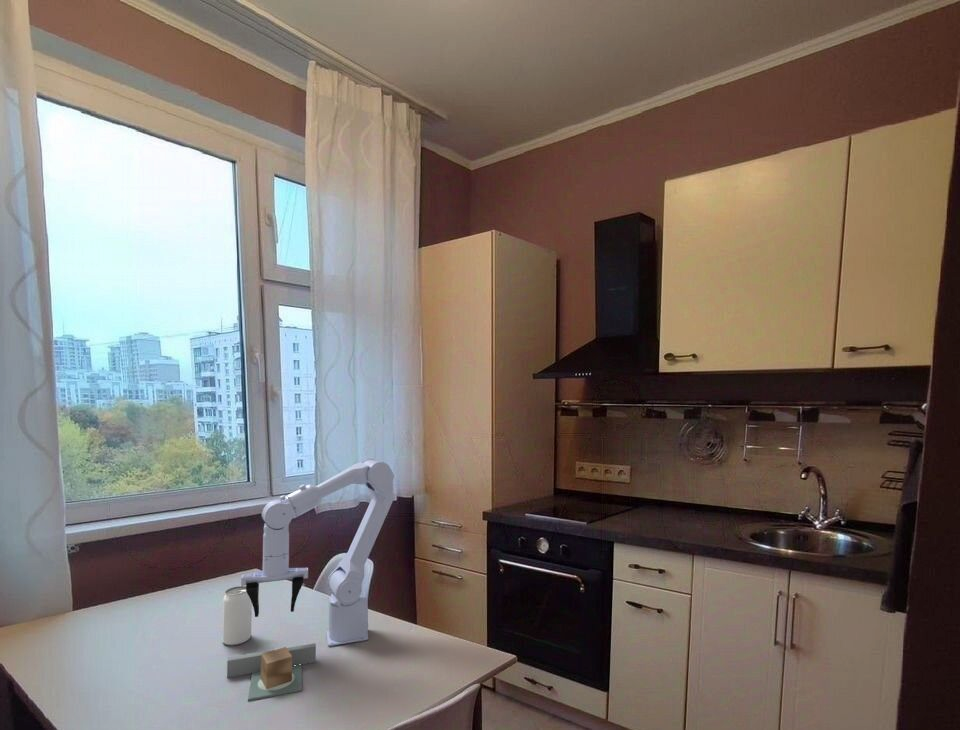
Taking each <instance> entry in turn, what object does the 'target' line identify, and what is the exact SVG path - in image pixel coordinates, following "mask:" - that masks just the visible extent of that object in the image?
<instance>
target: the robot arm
mask: <svg viewBox="0 0 960 730" xmlns="http://www.w3.org/2000/svg"><path fill="white" fill-rule="evenodd" d="M394 479H395V474H394V473H393V471H392V468H391V467H390V465H389V464H387V463H386V462H384V461H378V460H376V459H373V458H366V459H365V460H362V462H360V461H359V462H357V463H355V464H353V465H351V466H349V467H348V468H346V469H344V470H342V471H340V472H338V473H337V474H335V475H334V476H332V477H330V478H328V479H327V480H324V481H323V482H321V483H319V484H318V485H313V484H311V483H310V484H309V483H308V484H307V485H305V484H304V483H303V484H301V485H299V486H298V488H299V489H296V490H295V491H293V492H291V493H289V494H287V495H284V494H283V495H281V496H279V499H277V500H275V499H274V500H272V501H270V502H268V503H267V504H266V505H265V506H264V507H263V509H262V512H261V518H262V520H263V521H264V523H263V524H264V525H263V535H262V571H257V572H252V573H247V574H242V575H241V578H240V586H246V592H247V594H248V595H249V597H250V599H251V602H252V609H253V611H254V617H255V618H258V617H259V614H260V603H259V594H260V593H259V592H260V584H262V583H269V582H270V583H271V582H278V581H279V582H280V581H287V580H291V600H290V602H291V603H290V613H293V612H295V606H296V601H297V598H298V595H299V593H300V591H301V588H302V586H303V585H304V579H308V578H309V568H308V567H289V566H290V565H289V564H290V563H289V562H290V555H289V554H290V532H289V525H290V524H291V521H292V519H296V518H298V517H299V516H302V515H303V514H305V513H307V512H309V511H311V510H314V508H317V507H318V506H320V504H321V501H322V499H323V498H325V497H327V496H330V495H331V494H333V493H336V492H337V491H340V490H341V489H344V488H346V487H348V486H350V485H352V484H354V485H363V486H366V488H367V489H368V492H369V495H370V497H371V500H370V502H369V504H368V507H367V508H366V511H365V513H364V515H363V517H362V520H361V522H360V524H359V526H358V529H357V531H356V533H355V535H354V537H353V539H352V542H351V543H350V546H349V549H348V551H347V553H346V554H345V557H343V558H342V559H341V560H340V561H339V562H338V564H337V565H336V567H335V569H334V570H332V571H331V573H330V574H329V576H328V578H327V581H326V583H327V587H328V590H329V591H330V592H331V595H330V597H329V599H328V603H329V604H328V630H326V634H325V635H326V642H327V646H328V647H331V646H332V647H333V646H339V645H345V644H350V643H355V642H356V643H357V642H363V641H368V640H369V612H368V611H369V610H368V608H369V607H368V599H367V597H362V595H361V594H362V588H363V581H364V578H365V565H366V562H367V561H368V559H369V556H370V553H371V552H372V550H373V547H374V545H375V542H376V539H377V538H378V536H379V533H380V531H381V529H382V527H383V525H384V521H386V520H385V519H386V517H387V516H388V513H389V511H390V508H391V506H392V503H393V502H394V500H395V499H394V497H395V495H394Z"/></svg>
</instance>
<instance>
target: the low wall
mask: <svg viewBox="0 0 960 730" xmlns="http://www.w3.org/2000/svg"><path fill="white" fill-rule="evenodd" d="M286 648H287V650H288V651H289V653H290V654H291V655H292V666H294V665H299V664H303V665H307V663H309V664H313V663H312V662H315V663H316V662H317V661H316V658H317V656H316V654H317V653H316V652H317V650H316V649H317V645H316V643H309V644H308V643H307V644H302V645H295V646H291V647H286ZM273 650H274V649H272V650H267V651H266V650H265V651H260V652H259V651H258V652H254V653H247V654H242V655H235V656H234V655H233V656H229V657H227V662H226V663H227V664H226V669H227V670H226V678H228V679H229V678H234V677H240V676H245V674H246V675H252V674H251V673H256V672H261V654H263V653H266V652H270V651H273Z"/></svg>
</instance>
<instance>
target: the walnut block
mask: <svg viewBox="0 0 960 730" xmlns="http://www.w3.org/2000/svg"><path fill="white" fill-rule="evenodd" d="M287 648H288V647H287V646H285V647H281V648H277V649H272V650H273V651H271V650H269V651H270V652H266V653H263V654H261V680H262V682H263V684H264V686H265V688H266V689H269V688H272V687H275V686H278V685H281V684H285V683H288V682H291V681H292V655H291V654H290V653H289V651H288V650H287Z"/></svg>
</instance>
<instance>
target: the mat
mask: <svg viewBox="0 0 960 730" xmlns="http://www.w3.org/2000/svg"><path fill="white" fill-rule="evenodd" d="M302 669H303V668H302V665H296V666H292V681H291V682H288V683H285V684H281V685H278V686H275V687H272V688H269V689H266V688H265V686H264V684H263V682H262V680H261V672H256V673H252V674H251V679H250V685H249V690H248V691H249V692H248V697H247V702H249V701H256V700H262V699H265V698H271V697H276V696H277V697H278V696H282V695H287V694H294V693H297V691H298V692H302V691H303V689H302V688H303V687H302V686H303V683H302V682H303V681H302V679H303V676H302V673H303V671H302Z"/></svg>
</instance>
